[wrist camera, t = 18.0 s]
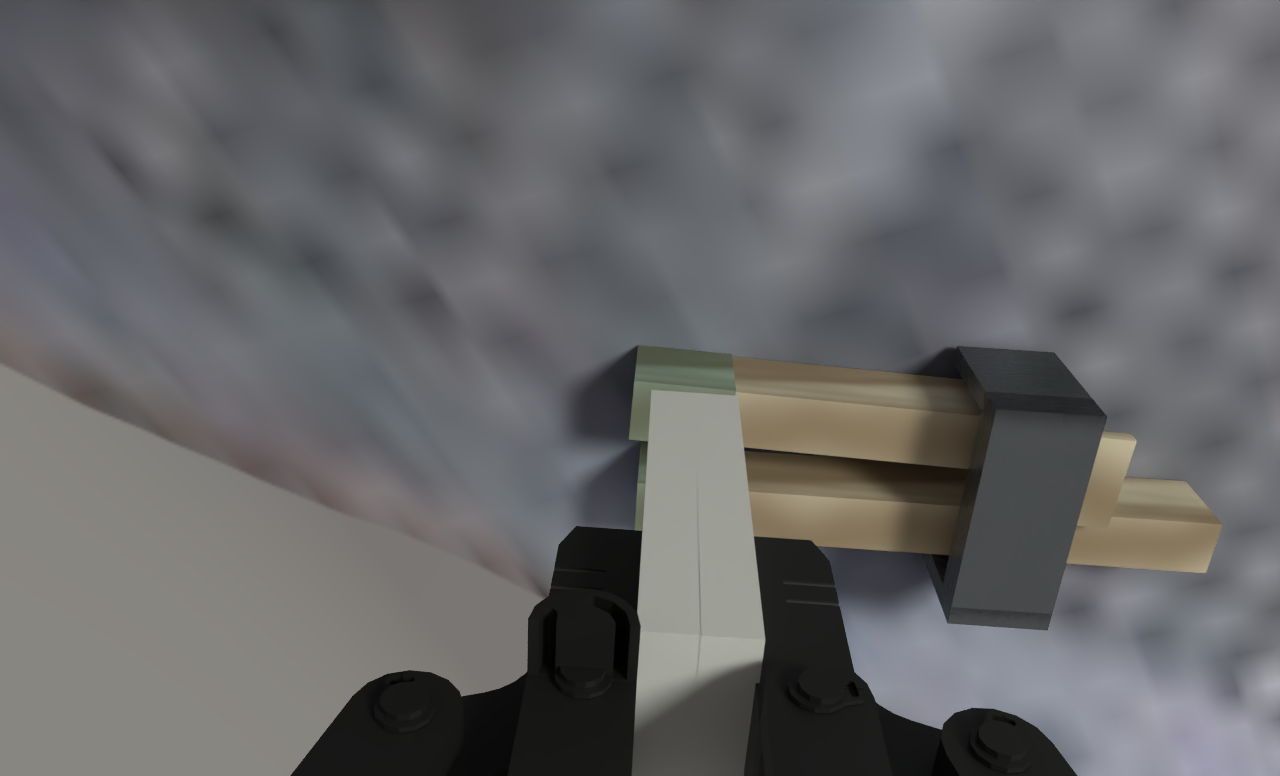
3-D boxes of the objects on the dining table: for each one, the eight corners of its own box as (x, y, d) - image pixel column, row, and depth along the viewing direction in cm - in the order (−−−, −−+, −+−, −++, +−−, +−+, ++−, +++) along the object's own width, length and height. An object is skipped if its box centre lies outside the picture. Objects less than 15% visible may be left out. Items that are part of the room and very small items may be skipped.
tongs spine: (643, 398, 45) (640, 437, 42) (1199, 437, 45) (1240, 479, 41) (637, 492, 47) (634, 536, 44) (1169, 529, 47) (1206, 576, 43)
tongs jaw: (638, 345, 44) (633, 389, 40) (1096, 390, 44) (1137, 438, 40) (629, 431, 46) (624, 481, 42) (1070, 474, 46) (1107, 528, 42)
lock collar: (957, 345, 43) (996, 409, 38) (1054, 352, 43) (1107, 417, 38) (917, 541, 47) (947, 623, 42) (1005, 547, 47) (1047, 630, 42)
